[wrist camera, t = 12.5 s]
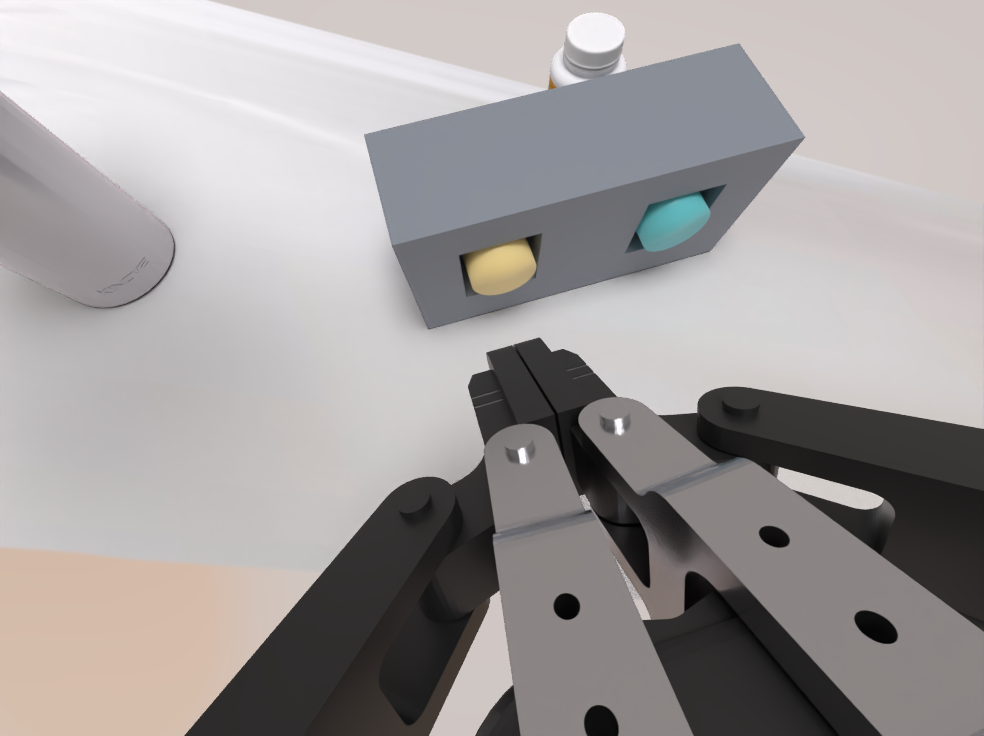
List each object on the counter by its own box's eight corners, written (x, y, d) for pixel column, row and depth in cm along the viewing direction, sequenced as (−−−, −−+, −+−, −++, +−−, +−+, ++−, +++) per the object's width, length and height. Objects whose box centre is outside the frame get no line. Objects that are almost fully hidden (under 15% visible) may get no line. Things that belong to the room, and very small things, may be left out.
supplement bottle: (597, 183, 36) (633, 65, 26) (535, 174, 36) (548, 55, 26) (605, 136, 37) (641, 8, 28) (546, 127, 38) (561, -1, 28)
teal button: (691, 242, 29) (723, 199, 25) (634, 257, 29) (657, 216, 25) (673, 207, 30) (700, 160, 26) (618, 222, 30) (637, 177, 26)
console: (710, 251, 33) (805, 137, 23) (428, 329, 32) (391, 245, 21) (669, 177, 36) (739, 43, 25) (406, 246, 34) (364, 134, 24)
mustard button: (533, 285, 28) (539, 247, 24) (473, 301, 28) (468, 266, 24) (520, 247, 29) (523, 206, 25) (462, 263, 29) (455, 224, 25)
